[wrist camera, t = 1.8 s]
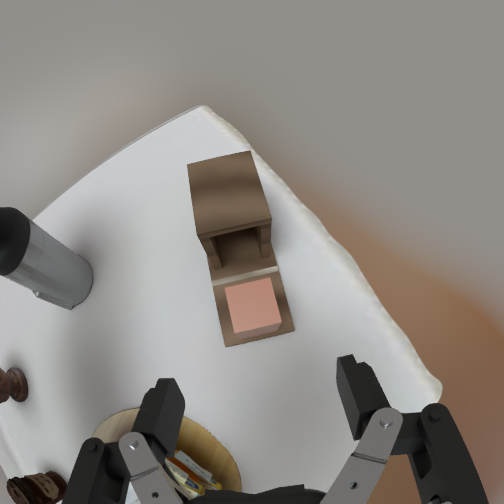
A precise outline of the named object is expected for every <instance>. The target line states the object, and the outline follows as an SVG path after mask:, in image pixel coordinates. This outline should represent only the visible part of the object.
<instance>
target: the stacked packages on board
mask: <svg viewBox="0 0 504 504" xmlns="http://www.w3.org/2000/svg"><path fill="white" fill-rule="evenodd" d="M139 410H140V409H139V408H137V409H130V410H125V411H122V412H119V413H117V414H114V415H112V416H111V417H109V418H108V419H106V420H105V421H104V422H102V423H101V424H100V425H99V427H98V428H97V429H96V430H95V432H94V434H93V436H92V438H93V437H96V438H99V439H101V440H102V441H103V442H104V443H110V442H117V441H120V439H121V438H122V436H124V435H125V434H127V433H129V432H131V430H132V427H133V424H134V422H135V419H136V416H137V414H138V411H139ZM165 462H166V463H167V464H168V466H169V468H170V469H171V471H172V472H173V474H174V475H175V477H176V478H177V480H178V481H179V483H180V484H181V486H182V487H183V489H184V490H185V491H186V492H187V493H188V494H189V496H190V497H191V498H195V497H197V496H201V495H205V493H206V489H207V490H232V491H236V492H241V480H240V475H239V471H238V468H237V466H236V463H235V461H234V459H233V458H232V456H231V454H230V453H229V452H228V450H227V449H226V448H225V447H224V446H223V445H222V444H221V443H220V442H218V441H217V439H216V438H215V437H214V436H212V435H211V433H210V432H209V431H208V430H206V429H205V428H204V427H202V426H201V425H199V424H197V423H196V422H194V421H192V420H190V419H188V418H186V417H183V419H182V423H181V427H180V432H179V436H178V441H177V445H176V450H175V454H174V458H168V457H166V459H165ZM125 504H141V502H140V501H139V499H138V497H137V495H136V493H135V491H134V489H133V487H132V485H131V482H130V483H129V487H128V492H127V497H126V502H125Z"/></svg>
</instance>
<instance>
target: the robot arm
mask: <svg viewBox="0 0 504 504" xmlns="http://www.w3.org/2000/svg"><path fill="white" fill-rule="evenodd" d="M0 275H1V276H3V277H5V278H7V279H9V280H11V281H14V282H16V283H18V284H20V285H22V286H24V287H26V288H29V289H31V290H32V291H33V293H34V294H35V296H36V297H38V298H40V299H42V300H45V301H47V302H50V303H52V304H55V305H58V306H60V307H63V308H66V309H68V310H71V309H72V308H73V306H75V305H77V304H79V303H81V302H82V301H83V300H84V299H85V298H86V297H87V295H88V294H89V291H90V289H91V286H92V280H93V274H92V269H91V267H90V265H89V263H88V262H87V261H86V260H84V259H83V258H82V257H81V256H79V255H77V254H76V253H74V252H73V251H72V250H70V249H69V248H67V247H66V246H65V245H63V244H62V243H60V242H59V241H58V240H56V239H55V238H54V237H52V236H51V235H50V234H48V233H47V232H46V231H44V230H43V229H42V228H40V227H39V226H38V225H36V224H35V223H34V222H33V221H31V220H30V219H29V218H28V217H26V216H25V215H24V214H23V213H21V212H20V211H19V210H17V209H15V208H12V207H2V208H1V207H0ZM336 381H337V387H338V391H339V394H340V397H341V400H342V404H343V407H344V410H345V413H346V416H347V419H348V423H349V426H350V429H351V432H352V436H353V439H354V441H356V440H359V439H360V442H359V444H358V446H357V447H356V449H355V451H354V453H352V454H351V455H350V457H349V458H348V460H347V462H346V464H345V465H344V467H343V469H342V470H341V472H340V474H339V475H338V477H337V478H336V480H335V482H334V483H333V485H332V486H331V488H330V489H329V491H328V492H327V493H325V492H322V491H318V490H313V489H304V484H301V485H294V486H287V487H279V488H275V489H272V490H269V491H265V492H262V493H258V494H247V493H242V492H236V491H232V490H207V489H206V493H205V495H201V496H197V497H195V498H191V497H190V496H189V494H188V493H187V492H186V491H185V490H184V489H183V487H182V486H181V484H180V483H179V481H178V480H177V478H176V477H175V475H174V474H173V472H172V471H171V469H170V468H169V466H168V464H167V463H166V462H165V459H166V457H168V458H174V454H175V450H176V445H177V441H178V436H179V432H180V427H181V423H182V419H183V414H184V410H185V400H184V397H183V395H182V393H181V391H180V389H179V387H178V385H177V383H176V381H175V379H174V378H159V379H158V381H157V384H156V386H155V388H150V390H149V391H148V392H147V393H146V394H145V396H144V398H143V401H142V404H141V406H140V408H139V409H140V410H139V411H138V414H137V416H136V419H135V422H134V424H133V427H132V430H131V432H129V433H127V434H125V435H124V436H122V438H121V439H120V441H117V442H110V443H104V442H103V441H102V440H101V439H99V438H96V437H93V438H89V439H87V440H86V441H85V442H84V443H83V445H82V447H81V449H80V452H79V455H78V457H77V460H76V463H75V465H74V468H73V471H72V474H71V477H70V479H69V482H68V485H67V488H66V491H65V494H64V498H63V501H62V504H125V502H126V497H127V492H128V487H129V483H130V482H131V485H132V487H133V489H134V491H135V493H136V495H137V497H138V499H139V501H140V502H141V504H366V502H367V500H368V499H369V497H370V495H371V493H372V491H373V489H374V487H375V486H376V484H377V482H378V480H379V478H380V476H381V474H382V471H383V469H384V467H385V465H386V462H387V460H388V457H389V455H401V454H407V455H408V458H409V461H410V464H411V467H412V471H413V474H414V477H415V481H416V484H417V487H418V491H419V495H420V498H421V502H422V504H489V503H488V500H487V497H486V494H485V491H484V488H483V486H482V483H481V480H480V478H479V475H478V473H477V470H476V468H475V466H474V463H473V461H472V459H471V456H470V454H469V452H468V450H467V447H466V445H465V443H464V441H463V439H462V436H461V434H460V432H459V430H458V428H457V426H456V424H455V422H454V420H453V418H452V416H451V414H450V412H449V410H448V409H447V408H446V407H445V406H444V405H442V404H439V403H433V404H429V405H427V406H426V407H425V408H424V409H423V410H422V412H418V413H400V412H399V411H398V410H396V409H394V408H392V407H391V406H390V404H389V402H388V400H387V398H386V396H385V394H384V392H383V390H382V388H381V386H380V384H379V382H378V380H377V377H376V376H375V373H374V371H373V369H372V368H371V367H370V366H369V365H368V364H366V363H365V362H361V363H357V362H356V360H355V358H354V356H353V355H352V354H351V355H346V356H342V357H338V358H337V375H336Z"/></svg>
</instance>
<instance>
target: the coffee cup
mask: <svg viewBox="0 0 504 504" xmlns="http://www.w3.org/2000/svg"><path fill="white" fill-rule="evenodd" d="M66 488H67V484H66V483H65V481H64V480H63V479H62V478H61V477H60V476H59V475H58V474H56V473H54V472H51V471H49V472H47V473H46V474H42V473H38V474H35V475H25V476H24V478H18V477H14V478H12V479H10V478H9V480H8V481H7V490H8V493H9V494H10V496H11V497H12V499H13V501H14V502H15V503H16V504H56V503H57V502H59V501H60V500H62V499H63V498H64V494H65V491H66Z"/></svg>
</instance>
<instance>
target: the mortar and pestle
mask: <svg viewBox="0 0 504 504" xmlns="http://www.w3.org/2000/svg"><path fill="white" fill-rule="evenodd" d="M27 395H28V388H27V383H26V379H25V377H24V375H23V373H22V372H21V371H20V370H19V369H18V368H10V369H9V370H8V371H7V372H6V373H5V372H4V371H3V370H2V369H1V368H0V403H2V402H6V401H7V400H8V399H9V396H11V397H12V398H13V399H14V400H15V401H17V402H23V401H25V400H26V398H27Z"/></svg>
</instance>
